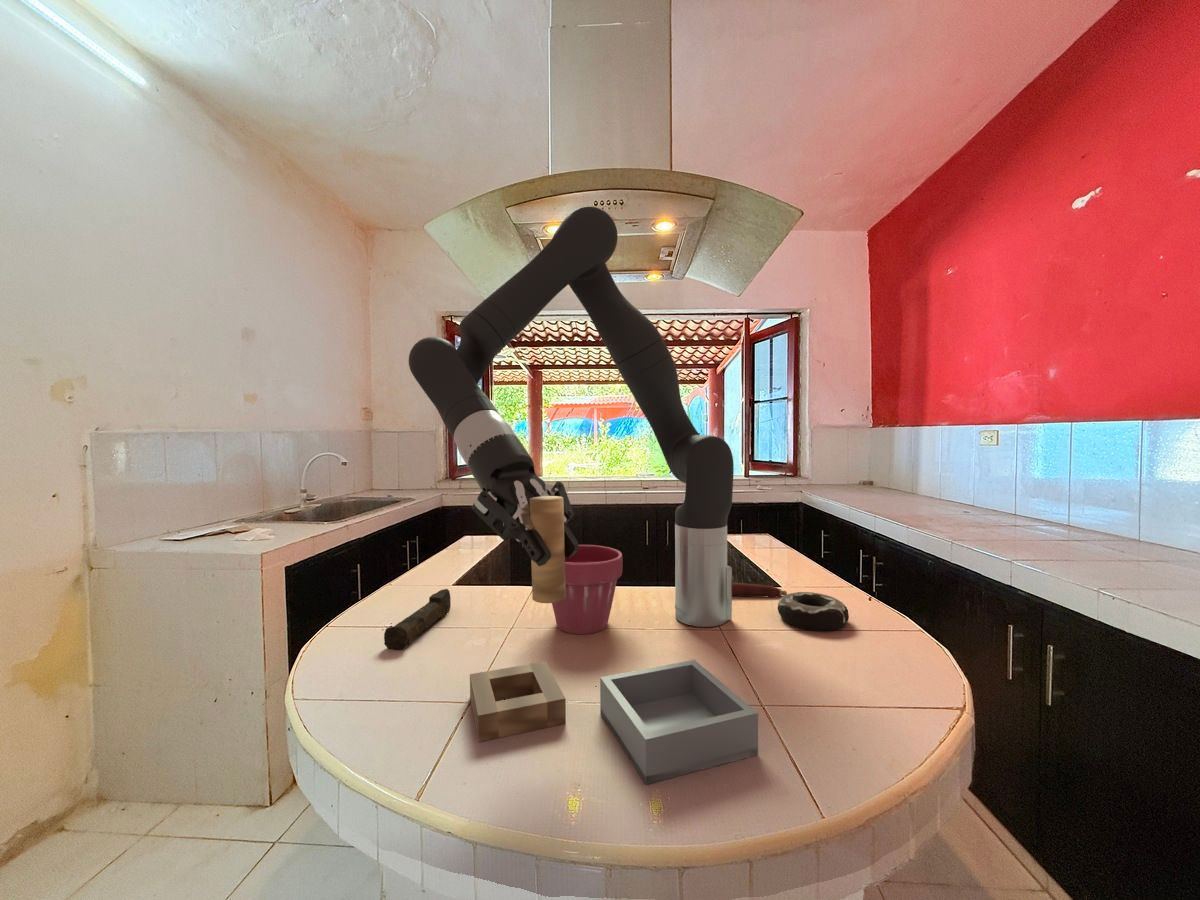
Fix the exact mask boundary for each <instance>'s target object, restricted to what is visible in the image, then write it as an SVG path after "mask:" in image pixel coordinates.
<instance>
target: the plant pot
mask: <svg viewBox="0 0 1200 900" xmlns="http://www.w3.org/2000/svg"><path fill="white" fill-rule="evenodd" d="M622 574H623V554H622V552H621V551H620V550H618V549H615V548H613V547H610V546H603V545H596V544H579V549H578V551H577V552H576V553H575V554H574V555H573V556H572V557H569V558H567V557H565V587H566V598H565V599H564V600H562V601H559V602H555V603H551V605H552V609H553V610H552V611H553V614H554V619H555V624H556V627H557V628H558V629H559V630H561V631H563V632H565V633H569V634H574V635H589V634H594V633H599V632H602V631H603V630H605V629H606V628H607V627H608V623H609V620H610V614H611V611H612V607H613V601H614V596H615V591H616V588H617V587H616V586H617V581H618V579H620V577H621V576H622Z"/></svg>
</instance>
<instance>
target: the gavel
mask: <svg viewBox="0 0 1200 900" xmlns="http://www.w3.org/2000/svg"><path fill="white" fill-rule="evenodd" d="M787 594H788V592H787V590H785V589H784V590H782V588H778V587H776V586H774V585H768V584H767V585H766V584H756V583H746V582H733V581H732V596H739V595H740V596H741V597H752V596H768V597H767V598H777V597H776V596H778V597H782V596H785V595H787Z"/></svg>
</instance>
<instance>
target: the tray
mask: <svg viewBox="0 0 1200 900" xmlns="http://www.w3.org/2000/svg"><path fill="white" fill-rule="evenodd" d="M599 680H600V681H599V685H600V686H599V687H600V688H599V692H600V696H599V698H600V702H599V703H600V711H599V712H600V715H601V717H602V718H603V720H604V721H605V723H606V725H607V726H608V728H609V729H610V732H611V733H612V732H613V733H612V734H613V736H614V737H615V739H616V741H617V742H618V744H619V745H620V747H621V748H622V750H623V752H624V753H625V755H626V757H627V758H628V760H629V761H630V763H631V764H632V765H633V767H634V768H635V770H636V772H637V774H638V775H639V777H640V778H641V780H642V781H643V783H644V784H645V785H646V786H647V785H651V784H654V783H658V782H661V781H666V780H669V779H673V778H677V777H680V776H684V775H687V774H691V773H695V772H699V771H702V770H706V769H710V768H713V767H716V766H717V767H718V766H720V765H724V764H725V765H726V764H729V763H731V762H736V761H739V760H743V759H747V758H750V757H754V756H755V757H756V756H758V755H759V712H758V711H756V709H754V708H753V707H752V706H751V705H749V703H747V702H746V701H745V700H743V699H742V698H741V697H740V696H739V695H737V693H735V692H734V691H733V690H731V689H730V688H729V687H728V686H726V684H724V683H723V682H722V681H720V680H719V679H718V678H717V677H716V676H715V675H713V674H712V673H711V672H710V671H709V670H708V669H706V668H705V667H704V666H703V665H702V664H700V663H699V662H698V661H697V660H696V659H692V660H691V659H690V660H687V661H681V662H676V663H670V664H665V665H658V666H654V667H648V668H643V669H638V670H633V671H626V672H622V673H615V674H611V675H605V676H600V677H599Z"/></svg>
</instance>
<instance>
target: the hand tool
mask: <svg viewBox="0 0 1200 900" xmlns="http://www.w3.org/2000/svg"><path fill="white" fill-rule="evenodd" d="M428 597H429V598H428V602H426V604H425V605H423V606H421V607H420V608H418V609H417V610H416V611H415V612H413V613H412V614H410V615H409V616H407V617H406V618H404V619H402V621H399V622H398V623H396V624H395V625H394V626H390V627H386V628H385V630H384V633H383V634H384V636H383V641H384V643H383V644H384V646H385V647H386V648H387V650H391V649H393V650H392V651H402V650H405V649H406V648H407V646H410V644H411V641H412V640H413V639H414V638H416V637H418V635H420V634H421V633H422V632H424V631H425V630H427V628H428V627H430V626H431V625H432V624H434V622H436V621H440V620H439V619H441V620H443V619H444V618H446V616H447V615H448V614H447V613H449V612H450V609H451V608H452V607H451V604H452V603H451V602H452V601H451V594H450V590H449V589H448V588H443V589H440V590H438V591H437V592H435V593H433V594H431V595H430V596H428ZM442 618H443V619H442Z"/></svg>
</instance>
